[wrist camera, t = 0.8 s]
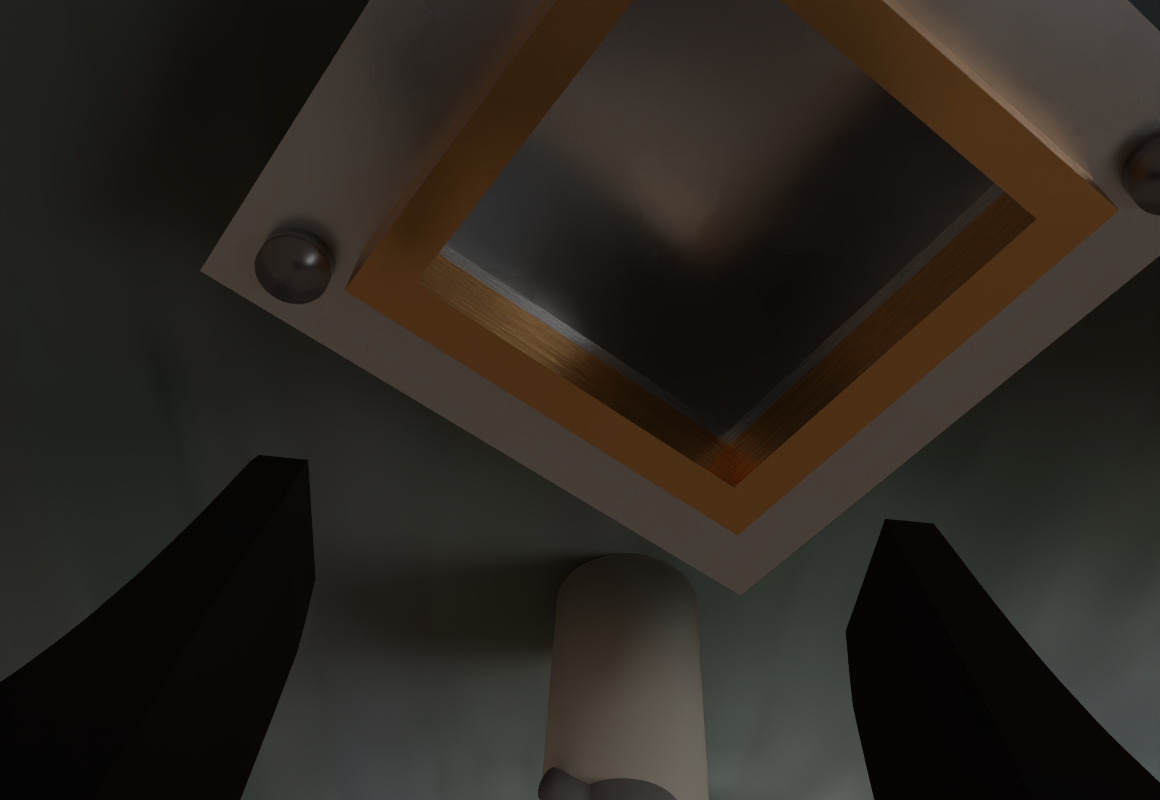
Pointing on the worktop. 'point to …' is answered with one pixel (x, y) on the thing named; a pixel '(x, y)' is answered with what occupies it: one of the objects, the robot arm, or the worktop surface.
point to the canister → (625, 686)
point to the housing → (709, 233)
